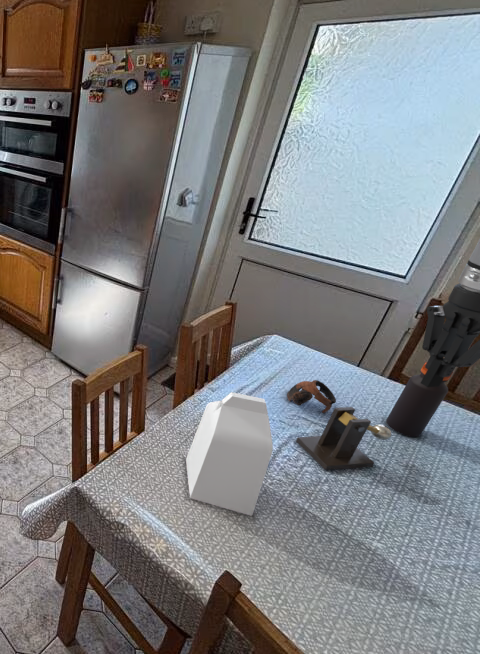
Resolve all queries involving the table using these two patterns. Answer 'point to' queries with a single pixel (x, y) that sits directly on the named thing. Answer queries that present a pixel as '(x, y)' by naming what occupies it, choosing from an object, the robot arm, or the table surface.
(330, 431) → the dark grey lever stand
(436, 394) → the bottle
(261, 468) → the milk
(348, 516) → the table surface
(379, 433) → the tap lever
